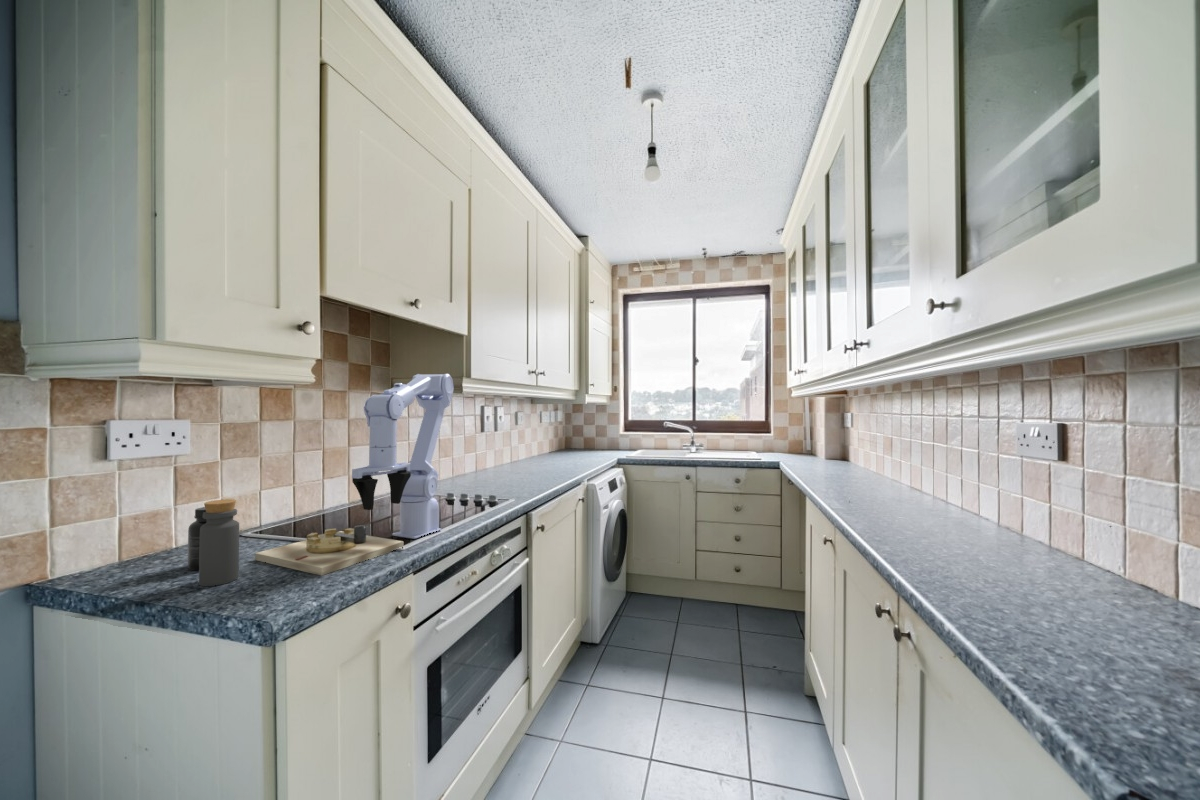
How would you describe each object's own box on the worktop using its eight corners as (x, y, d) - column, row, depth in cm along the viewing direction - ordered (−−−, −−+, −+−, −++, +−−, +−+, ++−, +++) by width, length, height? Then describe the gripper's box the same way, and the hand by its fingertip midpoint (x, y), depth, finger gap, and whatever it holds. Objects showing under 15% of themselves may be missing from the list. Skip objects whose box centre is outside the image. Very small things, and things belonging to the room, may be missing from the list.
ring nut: (338, 538, 112) (338, 515, 112) (383, 546, 105) (383, 521, 105) (295, 549, 103) (296, 524, 103) (342, 559, 96) (342, 532, 96)
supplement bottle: (235, 563, 98) (236, 506, 99) (194, 573, 93) (195, 512, 93) (222, 558, 102) (223, 503, 102) (182, 566, 96) (183, 508, 97)
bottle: (205, 578, 90) (206, 500, 90) (242, 573, 93) (243, 497, 93) (193, 588, 85) (195, 505, 85) (233, 583, 87) (234, 503, 88)
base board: (340, 536, 119) (340, 530, 119) (403, 547, 109) (403, 540, 110) (254, 560, 101) (255, 552, 101) (321, 575, 91) (321, 566, 91)
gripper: (395, 444, 115) (394, 499, 115) (342, 448, 102) (341, 510, 102) (417, 445, 113) (416, 501, 112) (365, 449, 99) (364, 513, 99)
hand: (382, 506), depth 107 cm, fingers open, 7 cm apart
